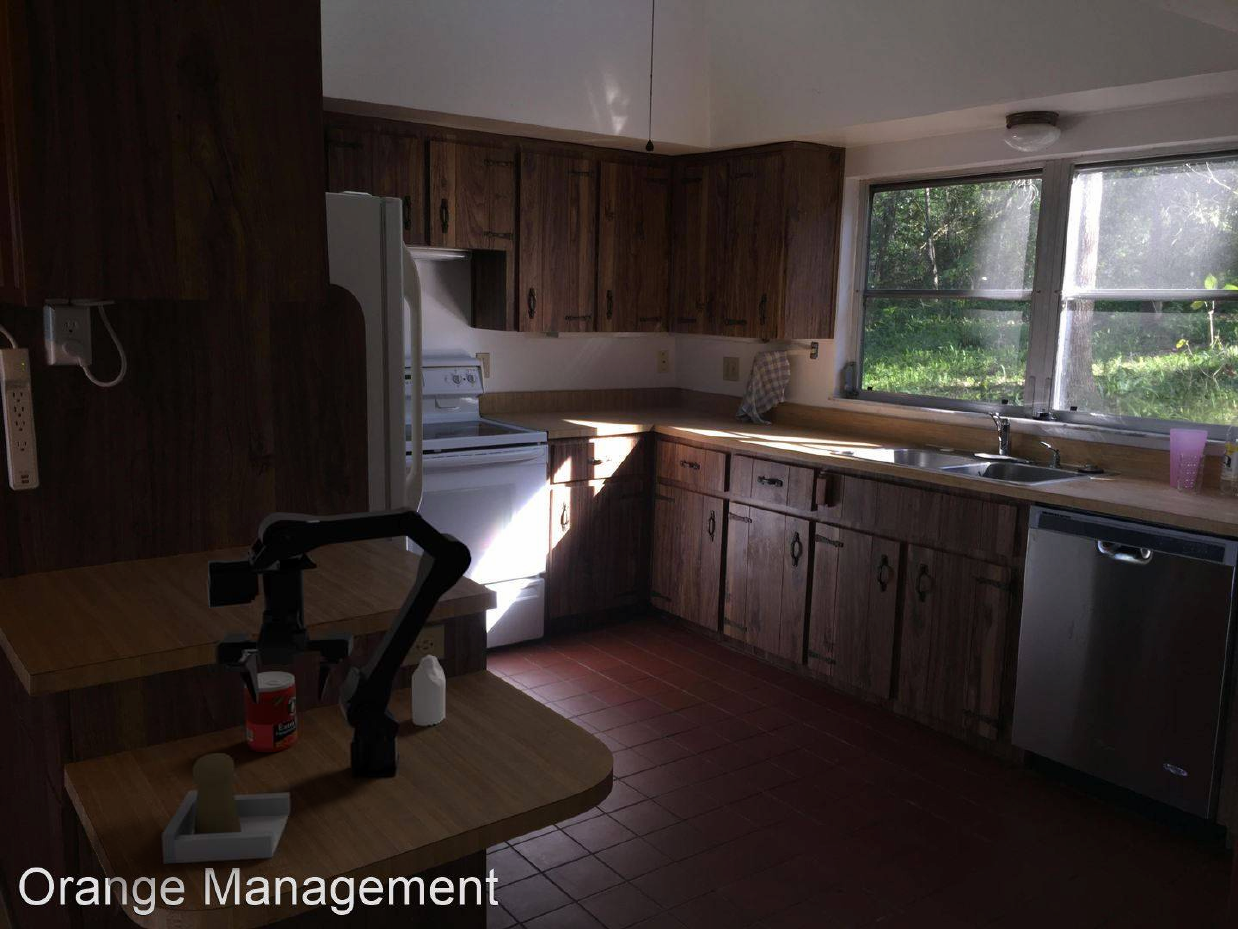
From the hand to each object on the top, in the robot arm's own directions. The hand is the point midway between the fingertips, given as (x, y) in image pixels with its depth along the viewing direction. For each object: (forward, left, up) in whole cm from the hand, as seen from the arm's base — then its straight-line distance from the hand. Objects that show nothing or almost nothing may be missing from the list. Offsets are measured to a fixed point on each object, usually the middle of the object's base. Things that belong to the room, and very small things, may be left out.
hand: (288, 701), depth 150 cm
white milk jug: (-19, -22, -13) cm, 32 cm away
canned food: (+6, -15, -13) cm, 21 cm away
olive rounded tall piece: (+7, +15, -13) cm, 21 cm away
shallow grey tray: (+4, +15, -13) cm, 20 cm away
